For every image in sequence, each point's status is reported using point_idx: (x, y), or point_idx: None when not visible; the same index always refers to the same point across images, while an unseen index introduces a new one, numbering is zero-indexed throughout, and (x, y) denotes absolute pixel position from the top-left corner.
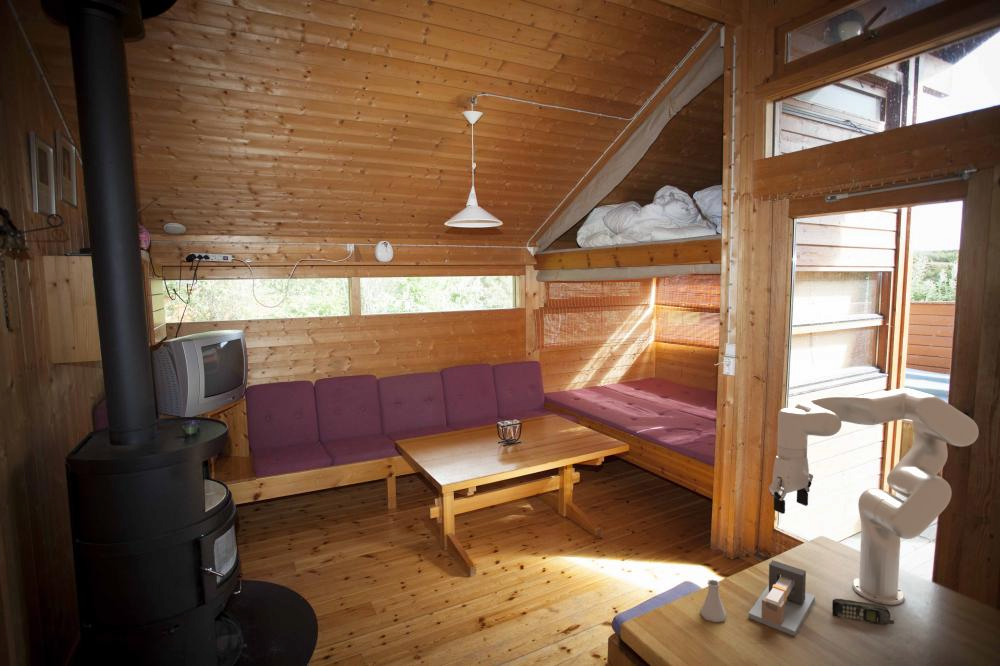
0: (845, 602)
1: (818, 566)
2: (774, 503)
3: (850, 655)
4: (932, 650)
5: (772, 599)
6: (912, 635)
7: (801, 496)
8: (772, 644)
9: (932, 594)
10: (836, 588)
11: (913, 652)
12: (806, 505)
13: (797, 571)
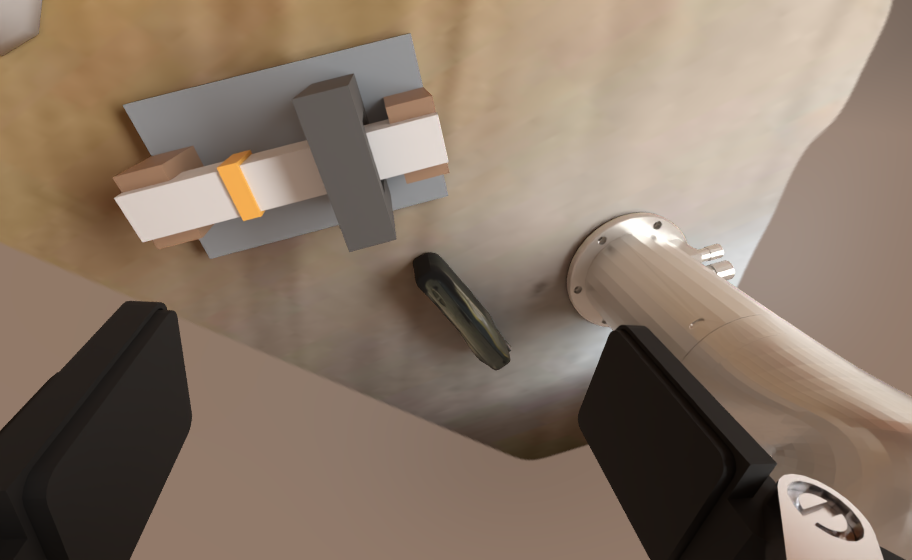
0: (441, 304)
1: (669, 85)
2: (69, 376)
3: (291, 357)
4: (467, 419)
5: (136, 220)
6: (489, 383)
7: (647, 455)
8: (108, 234)
9: None
10: (566, 195)
11: (428, 407)
12: (585, 424)
13: (358, 222)
